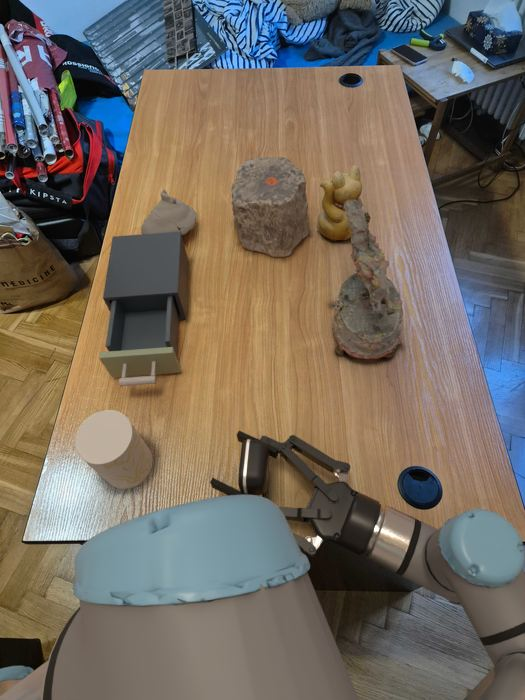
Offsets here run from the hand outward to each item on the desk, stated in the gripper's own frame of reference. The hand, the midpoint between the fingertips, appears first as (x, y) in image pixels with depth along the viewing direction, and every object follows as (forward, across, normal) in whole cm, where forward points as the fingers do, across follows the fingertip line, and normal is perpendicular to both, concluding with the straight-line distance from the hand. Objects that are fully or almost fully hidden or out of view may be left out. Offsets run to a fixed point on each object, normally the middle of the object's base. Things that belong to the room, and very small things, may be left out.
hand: (226, 458), depth 69 cm
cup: (+16, -6, -7) cm, 18 cm away
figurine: (-9, +37, -6) cm, 39 cm away
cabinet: (+32, +26, -6) cm, 42 cm away
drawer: (+25, +13, -6) cm, 28 cm away
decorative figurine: (+4, +57, -6) cm, 58 cm away
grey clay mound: (+38, +42, -6) cm, 57 cm away
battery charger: (-5, 0, -6) cm, 8 cm away
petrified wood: (+18, +52, -6) cm, 56 cm away
